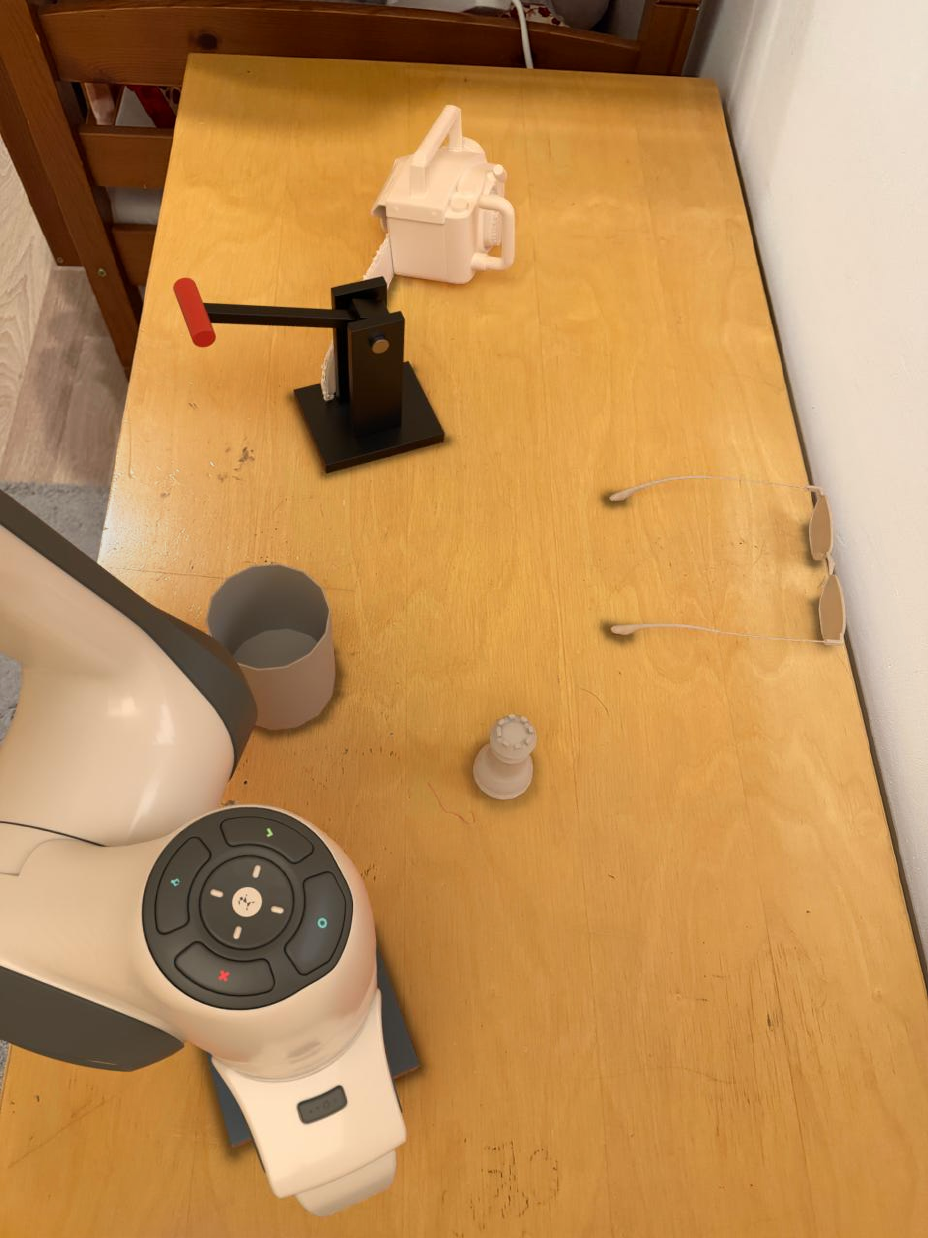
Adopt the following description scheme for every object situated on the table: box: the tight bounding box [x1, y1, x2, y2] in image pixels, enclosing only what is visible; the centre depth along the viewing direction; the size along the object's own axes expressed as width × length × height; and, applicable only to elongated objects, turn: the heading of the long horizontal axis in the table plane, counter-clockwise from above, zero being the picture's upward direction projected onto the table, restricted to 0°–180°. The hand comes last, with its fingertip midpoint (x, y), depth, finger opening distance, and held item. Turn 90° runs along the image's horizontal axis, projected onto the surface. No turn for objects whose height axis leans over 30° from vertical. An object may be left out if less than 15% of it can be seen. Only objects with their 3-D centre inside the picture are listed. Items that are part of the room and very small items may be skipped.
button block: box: [205, 943, 420, 1149], centre depth 63 cm, size 12×9×4 cm
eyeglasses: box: [608, 475, 847, 647], centre depth 84 cm, size 15×18×4 cm
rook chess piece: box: [472, 713, 538, 801], centre depth 72 cm, size 4×4×8 cm
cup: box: [204, 563, 337, 731], centre depth 73 cm, size 8×8×10 cm
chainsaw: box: [320, 104, 516, 401], centre depth 93 cm, size 15×35×12 cm, turn 164°
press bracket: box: [293, 276, 446, 474], centre depth 85 cm, size 11×9×14 cm
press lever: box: [172, 277, 390, 349], centre depth 77 cm, size 16×6×2 cm, turn 112°
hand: (304, 1022), depth 60 cm, fingers closed
